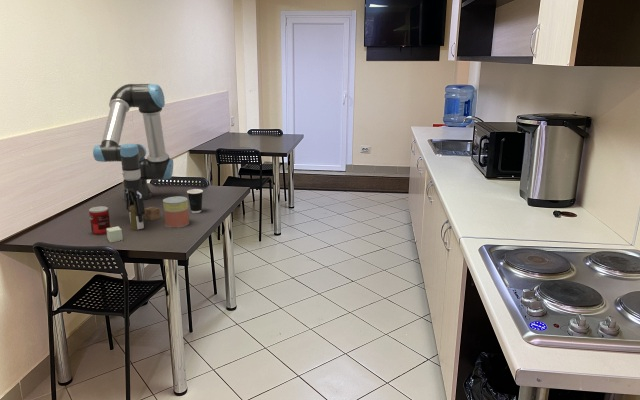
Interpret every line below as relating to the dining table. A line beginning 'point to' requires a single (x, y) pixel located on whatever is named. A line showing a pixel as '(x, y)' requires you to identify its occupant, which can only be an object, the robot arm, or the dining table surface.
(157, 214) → the walnut cube
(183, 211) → the canned food
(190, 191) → the dixie cup
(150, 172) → the robot arm
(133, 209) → the cork
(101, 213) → the canned food
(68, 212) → the dining table surface
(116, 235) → the sage cube
